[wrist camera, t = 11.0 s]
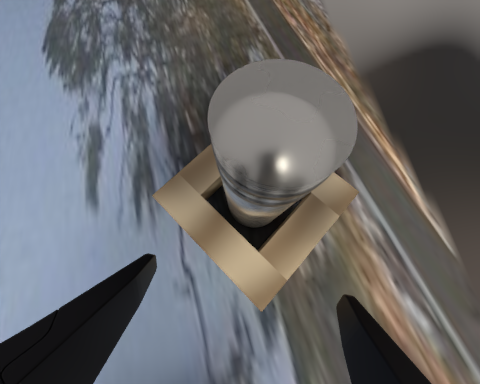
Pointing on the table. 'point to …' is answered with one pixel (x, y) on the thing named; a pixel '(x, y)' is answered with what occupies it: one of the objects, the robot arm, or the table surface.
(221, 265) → the bore block
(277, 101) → the piston
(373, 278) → the table surface
